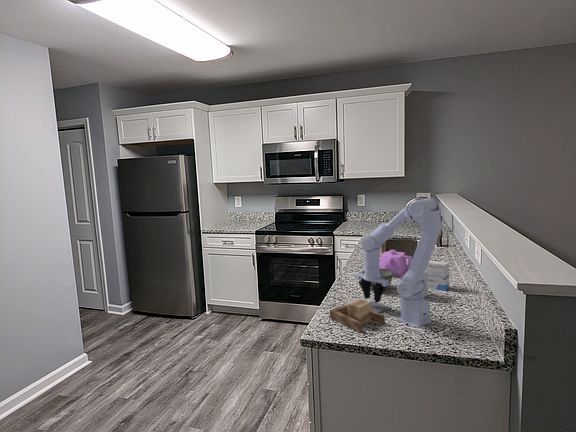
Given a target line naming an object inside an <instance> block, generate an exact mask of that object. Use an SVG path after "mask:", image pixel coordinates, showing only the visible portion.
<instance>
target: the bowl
mask: <svg viewBox="0 0 576 432" xmlns="http://www.w3.org/2000/svg"><path fill="white" fill-rule="evenodd" d="M379 271H380V276H381V278H383V279H385V280H387V281H388V286H386V287H385V289H384V290H383V291H385V290H386V288H388V287H389V286H390V285H391V284H392V282H393V277H394V276H393V272H392V271H391V270H387V269H381V268H379ZM361 273H363V274H364V270H363V271H362V272H361ZM375 284H376V283H373V282H372V283H371V288H370V290H372V291H373V288H372V285H375Z"/></svg>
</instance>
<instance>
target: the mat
mask: <svg viewBox="0 0 576 432" xmlns="http://www.w3.org/2000/svg"><path fill="white" fill-rule="evenodd" d="M369 302H371V310H373V311H375V312H378V313H380V314H382V313H384V312H387V311H390V310H392V307H390V306H388V305H385V304H382V303H379V302H377V303H376V302H375V300H374V301H373V300H370V301H369Z"/></svg>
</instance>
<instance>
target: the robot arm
mask: <svg viewBox="0 0 576 432" xmlns="http://www.w3.org/2000/svg"><path fill="white" fill-rule="evenodd" d="M410 219H414V220H415V221H416V223H418V224H419V225H420V226H421V228H422V231H421V235H420V237H419V240H418V242H417V246H416V249H415V251H414V254H413V256H412V262H411V265H410V267H409V269H408V270H406V273H405V274H404V275H403V276H402V279H401V280H400V281H399V282H398V283H397V284H396V290H397V293H398V295H399V297H400V315H399V316H397V317H395V320H398V321H400V322H402V323H405V324H407V325H410V326H412V327H415V328H419V327H422V326H424V325H427V324H429V323H431V322H432V319H431V305H430V302H429V301H428V300H426V299H425V298H423V297H422V291H423V290H424V289H425V279H426V275H425V274H424V273H425V271H426V268H427V266H428V263H429V261H431V257H432V254H433V252H434V250H435V247H436V244H437V241H438V239H439V236H440V234H441V231H442V220H441V219H442V218H441V206H440V205H439V203H438V202H437V201H436V199H434V198H433V197H426V198H423V199H415V200H412V201H411V202H410V203H408V204H407V205H405V206H404V208H402V209H401V210H400V211H399V212H398V213H397V214H396V215H394V217H393V218H392V219H391V220H390V221H388V222H383V223H379V224H378V225H377V227H376V228H375V229H374V230H373V231H370V232H369V235H365V236H363V237H362V238H361V239H360V246H361V248H362V250H363V263H364V264H363V265H364V266H363V267H364V269H363V271H364V274H363V273H362V272H359V273H356V278H357V279H359V280H358V284H359V286H360V288H361V290H362V292H363V296H364V300H365V299H366V300H368V299H370V298H371V283H372V282H373V283H376V284H375V285H372V288H373V290H372V291H373V295H374V296H373V297H374V302H376V303H379V302H381V299H382V295H383V292H384V291H385V290H386V288H387V287H386V286H388V281H387V280H385V279H383V278H381V276H380V271H379V259H380V253H381V252H380V251H381V247H382V246H383V244H385V242H387V241H388V240H389V239H390V238H392V237H393V236H394V234H395V230H396V229H398V228H399V227H400V226H401V225H403V224H404V223H406V222H408V220H410ZM385 287H386V288H385ZM388 287H389V286H388ZM384 289H385V290H384Z"/></svg>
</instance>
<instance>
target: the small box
mask: <svg viewBox="0 0 576 432" xmlns="http://www.w3.org/2000/svg"><path fill="white" fill-rule="evenodd" d="M424 274H425V275H426V279H425V289H424V290H423V291H422V297H423V299H425V297H427V295H428V292H429V291H428V290H429V289H428V271H425V273H424Z"/></svg>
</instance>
